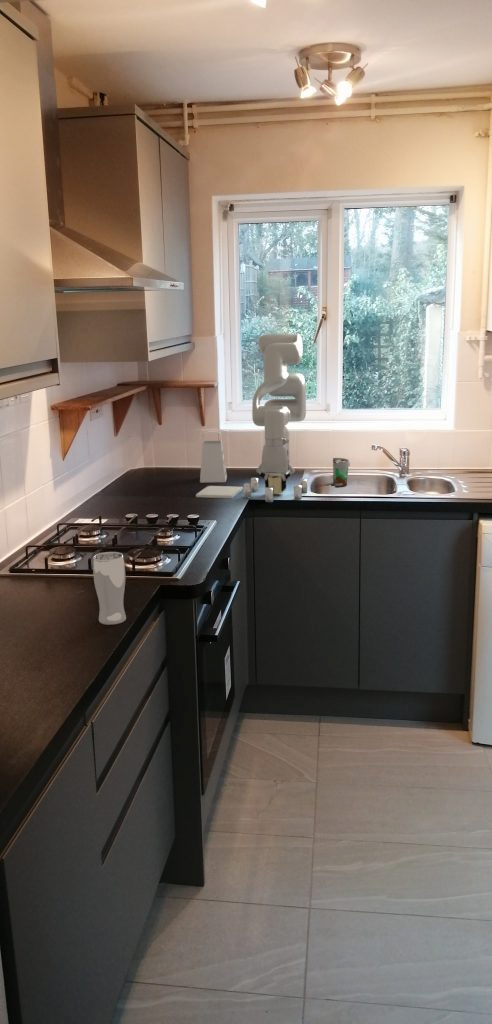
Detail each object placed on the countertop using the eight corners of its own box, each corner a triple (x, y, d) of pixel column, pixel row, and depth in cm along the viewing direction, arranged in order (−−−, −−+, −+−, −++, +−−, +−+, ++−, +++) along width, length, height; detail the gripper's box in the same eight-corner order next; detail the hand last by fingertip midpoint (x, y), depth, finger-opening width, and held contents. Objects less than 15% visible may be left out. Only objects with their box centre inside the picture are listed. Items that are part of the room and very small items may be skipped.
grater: (202, 477, 343) (200, 430, 338) (227, 477, 343) (225, 429, 338) (199, 482, 333) (197, 433, 328) (225, 482, 332) (223, 433, 328)
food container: (351, 488, 314) (351, 462, 312) (335, 488, 314) (335, 463, 312) (348, 481, 326) (348, 457, 324) (332, 482, 326) (332, 457, 324)
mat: (208, 488, 321) (208, 485, 321) (242, 489, 317) (242, 486, 317) (195, 497, 306) (195, 494, 306) (231, 498, 302) (231, 495, 302)
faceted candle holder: (271, 490, 310) (270, 474, 308) (283, 490, 308) (283, 475, 307) (267, 493, 304) (267, 477, 303) (280, 494, 303) (280, 478, 302)
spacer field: (255, 487, 321) (255, 474, 319) (310, 488, 315) (310, 476, 314) (239, 501, 297) (238, 487, 296) (298, 503, 292) (297, 489, 291)
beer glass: (91, 624, 181) (86, 559, 177) (104, 613, 187) (100, 550, 184) (120, 626, 179) (116, 561, 176) (132, 615, 186) (129, 552, 182)
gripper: (299, 441, 303) (300, 488, 308) (255, 440, 307) (256, 487, 312) (295, 444, 296) (296, 493, 301) (250, 443, 300) (251, 491, 305)
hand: (275, 489), depth 306 cm, fingers closed on faceted candle holder, 5 cm apart
